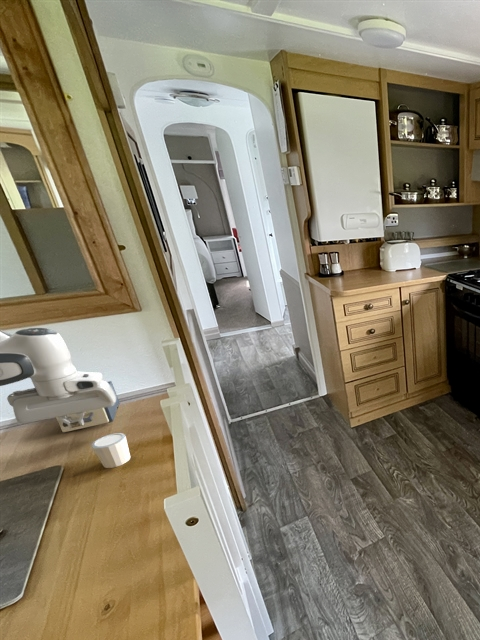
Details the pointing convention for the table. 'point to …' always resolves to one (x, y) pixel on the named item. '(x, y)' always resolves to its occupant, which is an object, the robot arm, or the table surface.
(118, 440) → the white faceted cup
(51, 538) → the table surface
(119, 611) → the table surface
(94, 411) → the drawer
